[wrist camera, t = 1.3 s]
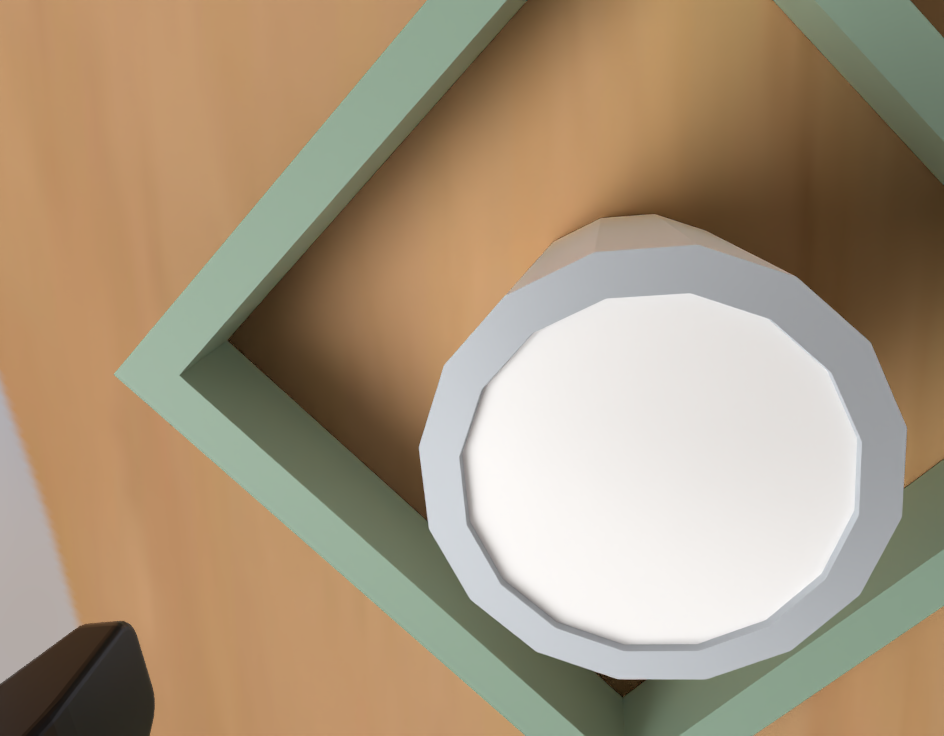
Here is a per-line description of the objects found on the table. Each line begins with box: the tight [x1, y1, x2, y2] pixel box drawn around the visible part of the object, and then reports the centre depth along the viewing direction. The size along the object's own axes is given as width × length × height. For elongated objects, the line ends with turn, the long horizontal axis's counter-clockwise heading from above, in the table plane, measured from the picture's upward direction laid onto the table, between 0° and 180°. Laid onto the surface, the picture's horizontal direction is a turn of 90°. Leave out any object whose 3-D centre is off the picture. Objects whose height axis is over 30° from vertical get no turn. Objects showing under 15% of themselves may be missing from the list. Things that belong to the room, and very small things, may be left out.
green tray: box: [114, 0, 944, 736], centre depth 18 cm, size 15×15×2 cm
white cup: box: [419, 214, 907, 679], centre depth 16 cm, size 7×7×7 cm
